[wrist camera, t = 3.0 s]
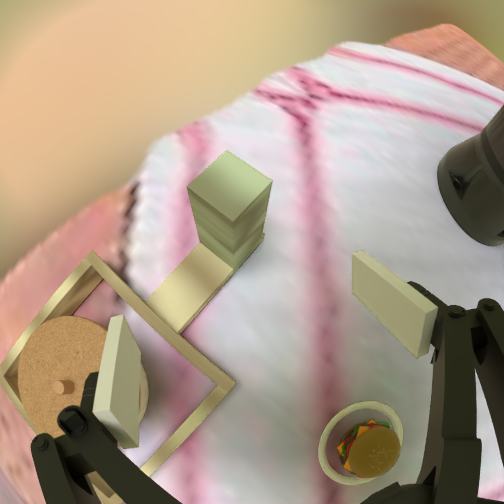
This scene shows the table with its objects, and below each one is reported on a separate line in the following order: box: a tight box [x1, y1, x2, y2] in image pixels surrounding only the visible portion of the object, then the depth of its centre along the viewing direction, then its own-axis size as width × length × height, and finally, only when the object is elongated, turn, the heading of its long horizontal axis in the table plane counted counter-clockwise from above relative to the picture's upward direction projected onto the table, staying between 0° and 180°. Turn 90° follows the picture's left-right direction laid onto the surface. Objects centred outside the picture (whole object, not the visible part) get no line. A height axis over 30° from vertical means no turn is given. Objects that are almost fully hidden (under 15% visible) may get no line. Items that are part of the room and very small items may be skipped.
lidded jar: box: [18, 316, 149, 446], centre depth 21 cm, size 11×11×9 cm
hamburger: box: [318, 401, 403, 485], centre depth 22 cm, size 12×12×6 cm
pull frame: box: [0, 150, 272, 504], centre depth 22 cm, size 29×17×11 cm, turn 141°
